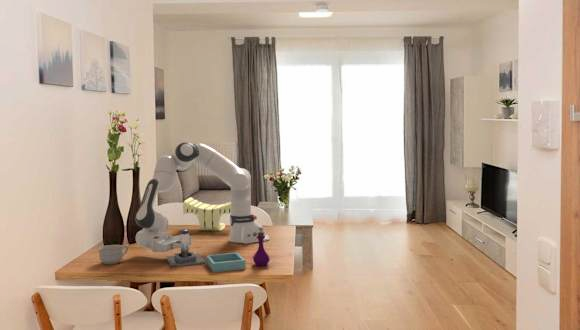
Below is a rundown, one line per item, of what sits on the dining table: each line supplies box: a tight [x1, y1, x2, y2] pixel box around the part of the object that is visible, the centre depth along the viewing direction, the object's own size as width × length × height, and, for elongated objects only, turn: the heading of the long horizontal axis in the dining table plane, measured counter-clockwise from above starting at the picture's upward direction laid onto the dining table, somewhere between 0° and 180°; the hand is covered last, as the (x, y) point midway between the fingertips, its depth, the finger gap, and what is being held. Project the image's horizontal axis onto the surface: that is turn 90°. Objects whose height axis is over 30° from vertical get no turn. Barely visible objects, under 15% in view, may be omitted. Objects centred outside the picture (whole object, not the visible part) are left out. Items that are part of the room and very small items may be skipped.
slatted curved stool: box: [182, 196, 231, 232], centre depth 354 cm, size 30×16×18 cm, turn 83°
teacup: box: [98, 244, 129, 265], centre depth 281 cm, size 14×11×8 cm
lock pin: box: [179, 228, 190, 257], centre depth 282 cm, size 4×4×14 cm
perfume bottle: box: [252, 226, 271, 267], centre depth 273 cm, size 8×8×18 cm
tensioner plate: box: [165, 251, 206, 268], centre depth 283 cm, size 16×16×3 cm
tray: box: [205, 252, 247, 273], centre depth 273 cm, size 15×15×4 cm
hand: (186, 244), depth 281 cm, fingers closed on lock pin, 4 cm apart
